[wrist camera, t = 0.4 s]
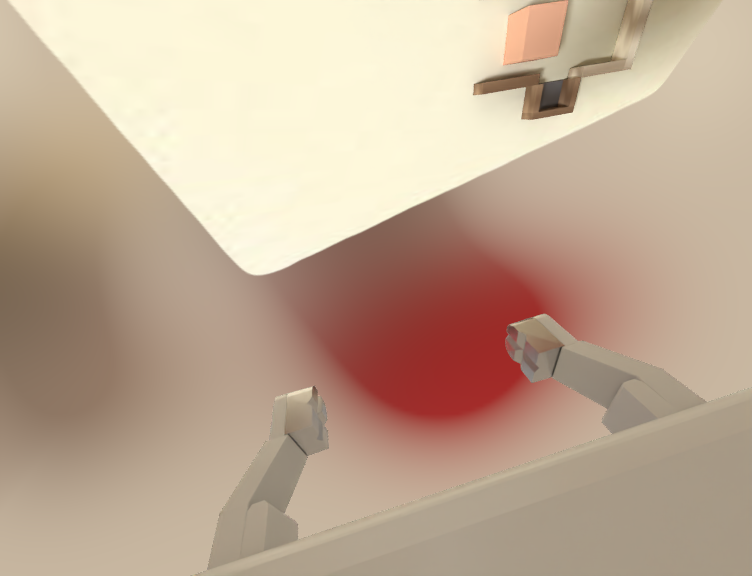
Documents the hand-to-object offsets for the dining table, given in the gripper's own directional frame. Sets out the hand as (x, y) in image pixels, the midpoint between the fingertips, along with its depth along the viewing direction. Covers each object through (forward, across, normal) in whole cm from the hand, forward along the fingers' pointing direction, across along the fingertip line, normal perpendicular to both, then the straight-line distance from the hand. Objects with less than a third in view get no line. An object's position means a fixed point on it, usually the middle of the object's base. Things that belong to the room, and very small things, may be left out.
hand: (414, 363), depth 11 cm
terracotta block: (+46, -35, -10) cm, 59 cm away
